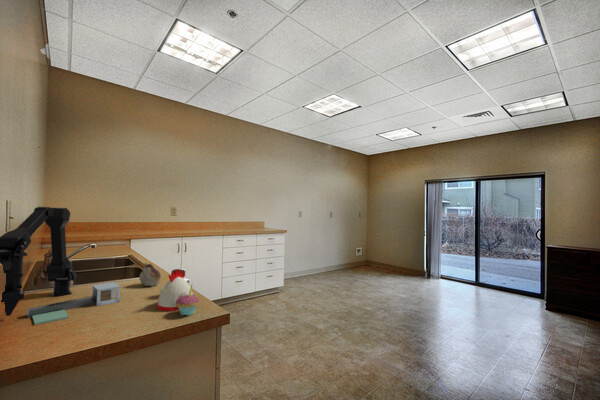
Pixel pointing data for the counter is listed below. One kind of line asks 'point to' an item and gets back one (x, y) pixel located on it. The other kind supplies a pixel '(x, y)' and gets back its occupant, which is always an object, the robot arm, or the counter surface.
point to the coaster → (49, 317)
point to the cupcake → (187, 303)
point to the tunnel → (104, 287)
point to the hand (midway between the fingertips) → (8, 315)
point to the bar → (61, 306)
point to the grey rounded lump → (150, 275)
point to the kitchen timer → (173, 291)
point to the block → (104, 295)
